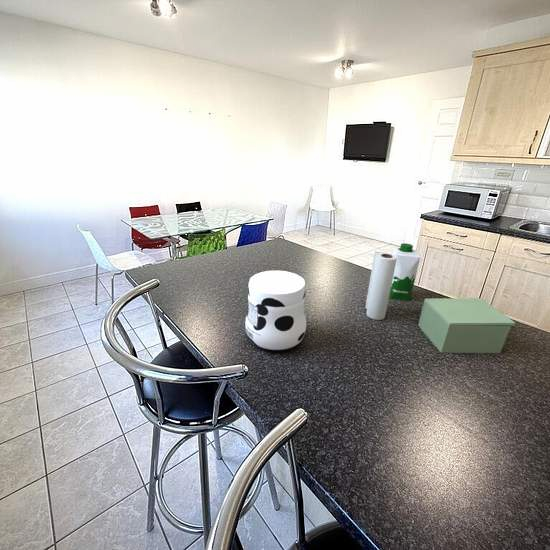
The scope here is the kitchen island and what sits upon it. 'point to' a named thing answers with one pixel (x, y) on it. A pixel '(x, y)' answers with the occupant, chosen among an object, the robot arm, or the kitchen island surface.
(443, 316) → the lid
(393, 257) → the paper towel roll
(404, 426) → the kitchen island surface
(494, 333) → the green hinged box
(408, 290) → the milk carton
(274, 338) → the milk container
